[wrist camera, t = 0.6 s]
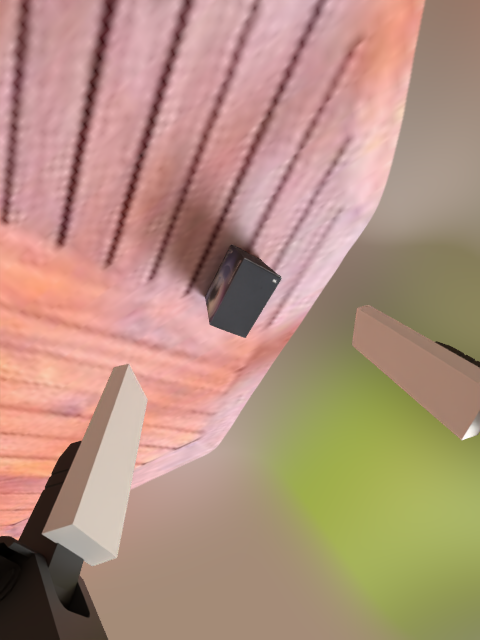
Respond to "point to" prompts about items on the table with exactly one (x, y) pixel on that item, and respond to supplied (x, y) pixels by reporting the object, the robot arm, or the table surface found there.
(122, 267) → the table surface
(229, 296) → the small box
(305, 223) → the table surface
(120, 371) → the robot arm
